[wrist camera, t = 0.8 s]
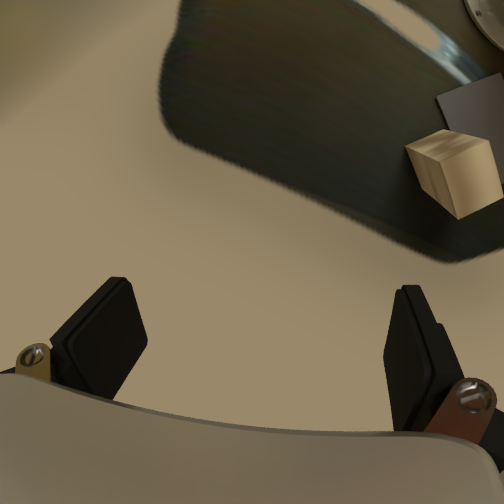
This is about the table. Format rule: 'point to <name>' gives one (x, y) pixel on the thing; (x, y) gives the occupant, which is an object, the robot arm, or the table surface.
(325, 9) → the table surface
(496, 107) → the mat
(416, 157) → the maple block
